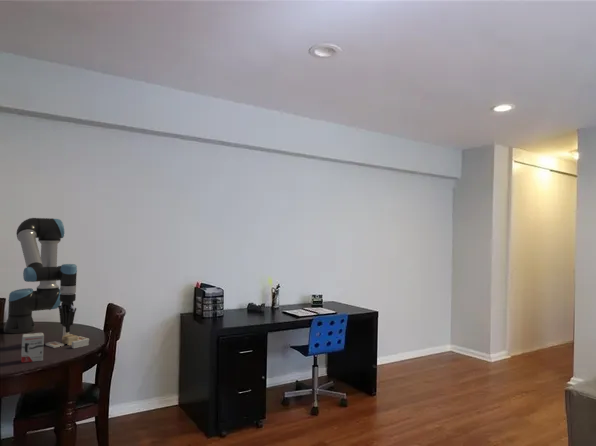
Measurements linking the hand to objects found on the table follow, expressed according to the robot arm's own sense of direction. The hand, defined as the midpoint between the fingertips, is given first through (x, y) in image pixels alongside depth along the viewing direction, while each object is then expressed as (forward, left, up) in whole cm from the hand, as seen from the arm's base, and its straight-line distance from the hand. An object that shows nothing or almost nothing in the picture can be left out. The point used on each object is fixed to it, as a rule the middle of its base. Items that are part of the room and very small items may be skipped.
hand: (65, 338), depth 238 cm
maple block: (+4, 0, -2) cm, 4 cm away
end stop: (+13, 0, -2) cm, 13 cm away
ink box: (+18, -26, -2) cm, 32 cm away
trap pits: (+2, 0, -2) cm, 3 cm away
